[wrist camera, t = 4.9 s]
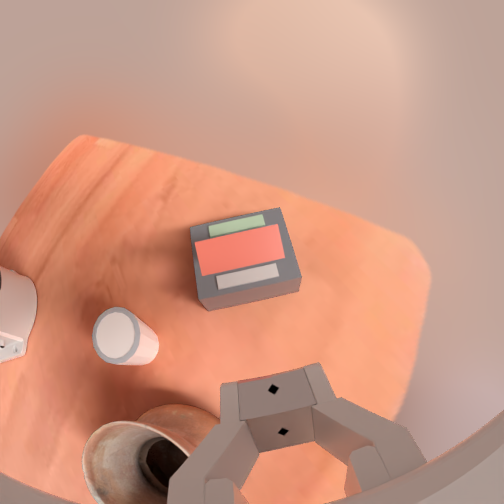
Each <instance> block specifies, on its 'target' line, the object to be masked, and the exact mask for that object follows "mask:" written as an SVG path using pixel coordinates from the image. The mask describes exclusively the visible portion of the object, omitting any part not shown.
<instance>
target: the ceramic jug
mask: <svg viewBox="0 0 504 504" xmlns="http://www.w3.org/2000/svg"><path fill="white" fill-rule="evenodd" d="M217 424H220V419H218V418H217V417H215V416H214V415H212V414H210V413H209V412H207V411H205V410H202V409H200V408H197V407H194V406H190V405H184V404H167V405H162V406H158V407H155V408H153V409H150V410H149V411H147V412H145V413H144V414H143V415H141V416H140V417H139V418H138V419H137V420H136V421H115V422H110V423H107V424H105V425H103V426H101V427H100V428H99V429H97V430H96V431H95V432H93V433H92V435H91V436H90V438H89V439H88V440H87V442H86V444H85V447H84V450H83V454H82V469H83V472H84V479H85V481H86V484H87V487H88V489H89V491H90V493H91V495H92V496H93V498H94V499H95V500H96V502H97V503H98V504H167V498H168V489H169V480H170V478H171V477H172V476H173V475H174V473H175V472H176V471H177V470H178V469H179V468H180V467H181V465H182V464H183V463H184V462H185V461H186V460H187V458H188V457H189V456H190V455H191V454H192V453H193V451H194V450H195V449H196V448H197V447H198V445H199V444H200V443H201V442H202V441H203V439H204V438H205V437H206V436H207V434H208V433H209V432H210V431H211V429H212V428H213V427H214V426H215V425H217Z"/></svg>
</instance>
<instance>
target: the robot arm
mask: <svg viewBox="0 0 504 504" xmlns="http://www.w3.org/2000/svg"><path fill="white" fill-rule="evenodd" d="M36 310H37V294H36V289H35V286H34V284H33V282H32V280H31V279H30V278H28V277H27V276H23V275H19V274H18V273H17V272H16V271H14V270H8V269H6V268H4V267H2V266H0V363H1V362H5V361H8V360H11V359H15V358H18V357H21V356H24V355H25V353H26V348H27V341H28V337H29V334H30V332H31V329H32V327H33V324H34V320H35V316H36ZM312 441H315V442H316V443H317V444H319V445H320V446H321V447H322V448H324V449H325V450H326V451H328V452H329V453H330V454H332V455H333V456H335V457H336V458H337V459H339V460H340V461H341V462H343V463H344V464H346V465H347V466H348V468H347V475H346V481H345V486H344V490H345V493H346V496H347V497H346V498H342V499H339V500H336V501H332V502H329V503H325V504H504V410H503V411H502V412H500V413H499V414H498V415H497V416H496V417H494V418H493V419H492V420H491V421H489V422H488V423H487V424H486V425H484V426H483V427H482V428H480V429H479V430H477V431H476V432H475V433H473V434H472V435H471V436H469V437H468V438H466V439H465V440H463V441H462V442H460V443H459V444H457V445H456V446H455V447H453V448H451V449H449V450H448V451H446V452H445V453H443V454H441V455H440V456H438V457H436V458H434V459H433V460H431V461H429V462H427V461H426V459H425V458H424V456H423V454H422V453H421V451H420V449H419V447H418V446H417V444H416V442H415V441H414V439H413V437H412V436H411V434H410V433H409V431H408V429H407V428H406V427H403V426H401V425H399V424H396V423H394V422H392V421H390V420H388V419H385V418H383V417H381V416H379V415H377V414H375V413H372V412H370V411H368V410H366V409H364V408H362V407H360V406H358V405H356V404H354V403H352V402H350V401H348V400H346V399H344V398H342V397H341V398H336V396H335V394H334V392H333V390H332V387H331V385H330V383H329V381H328V379H327V377H326V374H325V372H324V370H323V368H322V366H321V364H320V363H319V362H318V363H315V364H311V365H308V366H304V367H303V368H302V367H301V368H297V369H293V370H289V371H285V372H281V373H277V374H273V375H268V376H263V377H258V378H252V379H246V380H240V381H236V382H229V383H222V384H221V387H220V424H217V425H215V426H214V427H213V428H212V429H211V431H210V432H209V433H208V434H207V436H206V437H205V438H204V439H203V441H202V442H201V443H200V444H199V445H198V447H197V448H196V449H195V450H194V451H193V453H192V454H191V455H190V456H189V457H188V458H187V460H186V461H185V462H184V463H183V464H182V465H181V467H180V468H179V469H178V470H177V471H176V472H175V473H174V475H173V476H172V477H171V478H170V480H169V489H168V498H167V504H249V503H248V501H247V500H246V499H245V497H244V496H243V495H242V493H241V492H240V489H241V488H242V486H243V484H244V482H245V480H246V479H247V477H248V475H249V473H250V471H251V469H252V468H253V466H254V464H255V462H256V460H257V458H258V456H259V453H261V452H266V451H271V450H276V449H280V448H284V447H289V446H294V445H299V444H303V443H308V442H312ZM0 504H80V503H77V502H73V501H70V500H67V499H64V498H61V497H58V496H55V495H52V494H49V493H47V492H44V491H41V490H39V489H36V488H34V487H32V486H29V485H27V484H25V483H23V482H20V481H18V480H16V479H14V478H12V477H10V476H8V475H6V474H4V473H2V472H0Z"/></svg>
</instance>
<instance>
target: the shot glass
mask: <svg viewBox="0 0 504 504" xmlns="http://www.w3.org/2000/svg"><path fill="white" fill-rule="evenodd" d="M92 339H93V346H94V348H95V350H96V352H97V354H98V356H99V357H100V358H102V359H103V360H104V361H105V362H107V363H112V364H118V365H145V364H148V363H150V362H151V361H152V360H153V359H154V358H155V357H156V355H157V353H158V348H159V342H158V338H157V335H156V334H155V332H154V331H153V330H152V329H151V328H150V327H149V326H147V325H146V324H145V323H144V322H142V321H141V320H140V319H139V318H138V317H136V316H135V315H134V314H133V313H131V312H130V311H128V310H127V309H125V308H121V307H113V308H110V309H107V310H106V311H104V312H103V313H102V314H101V315H100V316H99V317H98V319H97V321H96V323H95V325H94V328H93V334H92Z"/></svg>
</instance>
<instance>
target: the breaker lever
mask: <svg viewBox="0 0 504 504" xmlns="http://www.w3.org/2000/svg"><path fill="white" fill-rule="evenodd" d="M195 247H196V251H197V256H198V260H199V265H200V269H201V273H202V276H205V275H209V274H214V273H219V272H223V271H228V270H232V269H237V268H242V267H246V266H251V265H255V264H260V263H264V262H269V261H273V260H278V259H282V258H285V255H284V250H283V245H282V241H281V236H280V232H279V227H278V224H275V225H271V226H266V227H261V228H257V229H252V230H247V231H243V232H238V233H234V234H229V235H225V236H220V237H216V238H212V239H207V240H203V241H198V242H195Z"/></svg>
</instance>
